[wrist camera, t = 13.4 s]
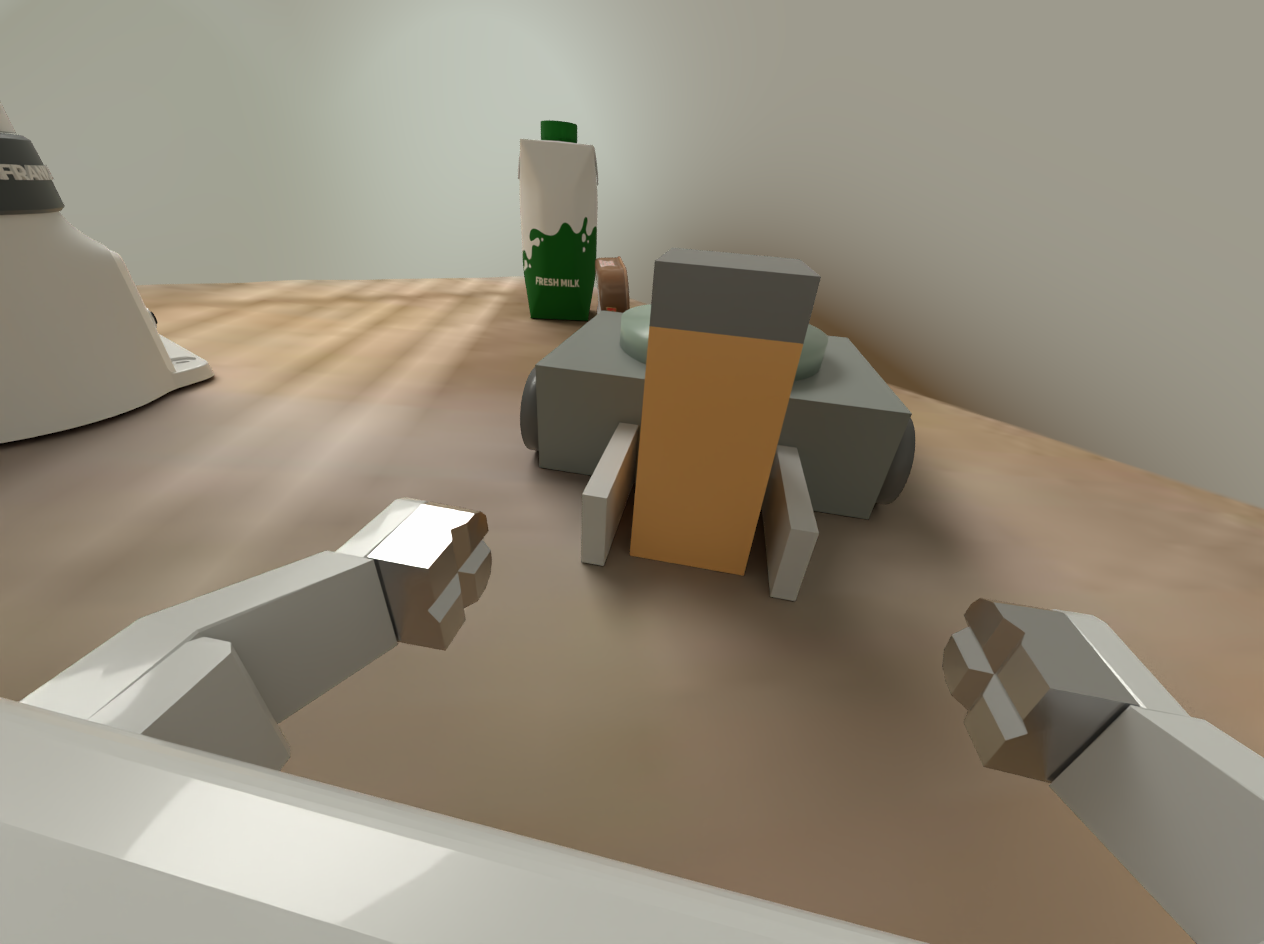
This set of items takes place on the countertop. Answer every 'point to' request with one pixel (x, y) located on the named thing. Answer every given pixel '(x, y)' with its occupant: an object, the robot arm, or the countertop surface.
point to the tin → (612, 285)
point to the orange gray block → (715, 401)
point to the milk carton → (558, 222)
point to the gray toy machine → (805, 455)
